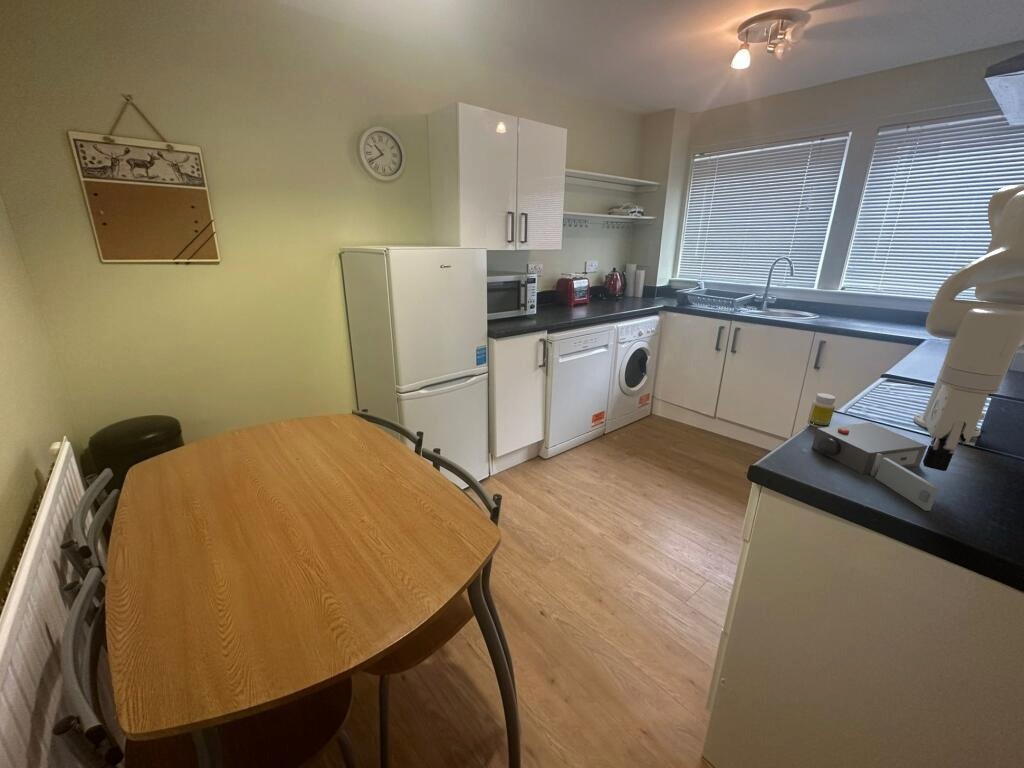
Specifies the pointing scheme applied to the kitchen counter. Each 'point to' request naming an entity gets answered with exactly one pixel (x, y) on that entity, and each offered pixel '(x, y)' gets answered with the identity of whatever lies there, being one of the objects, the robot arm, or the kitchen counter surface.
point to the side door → (907, 484)
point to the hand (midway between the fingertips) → (933, 466)
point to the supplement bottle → (822, 410)
